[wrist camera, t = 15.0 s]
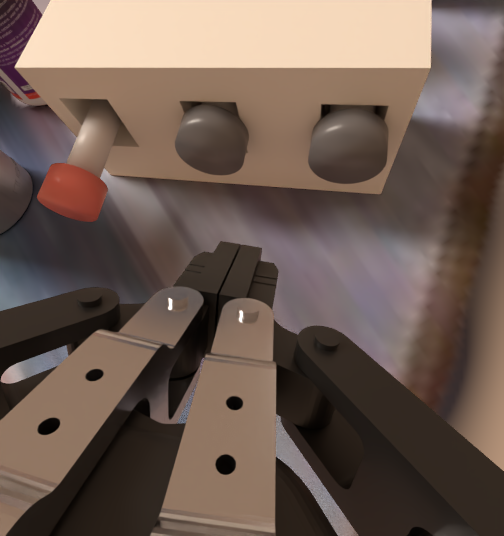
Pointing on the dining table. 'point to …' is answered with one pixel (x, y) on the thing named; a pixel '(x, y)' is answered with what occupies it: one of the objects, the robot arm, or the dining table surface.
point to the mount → (231, 75)
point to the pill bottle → (17, 46)
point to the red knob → (83, 167)
